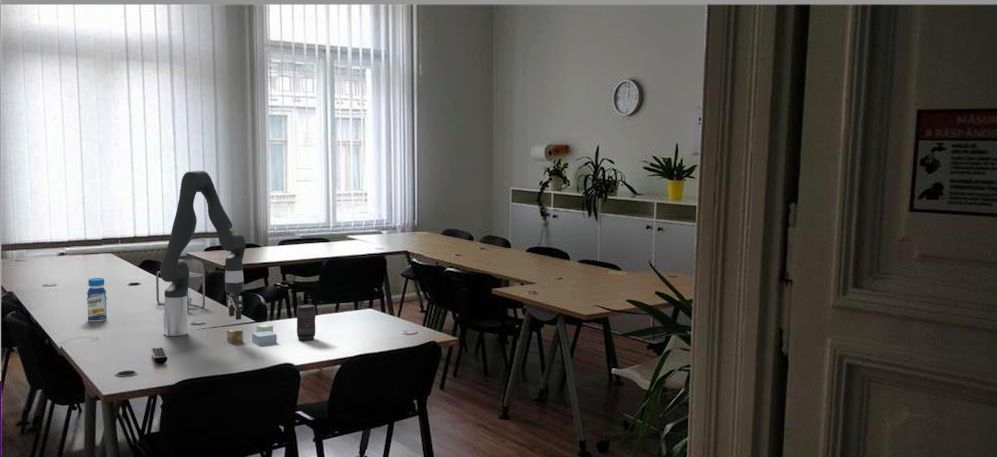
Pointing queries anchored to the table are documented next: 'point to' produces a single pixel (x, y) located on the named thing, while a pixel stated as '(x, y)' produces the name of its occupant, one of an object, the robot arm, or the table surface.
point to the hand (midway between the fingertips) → (235, 317)
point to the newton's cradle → (187, 291)
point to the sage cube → (264, 328)
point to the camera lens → (306, 322)
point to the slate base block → (264, 338)
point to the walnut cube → (234, 335)
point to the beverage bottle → (96, 300)
